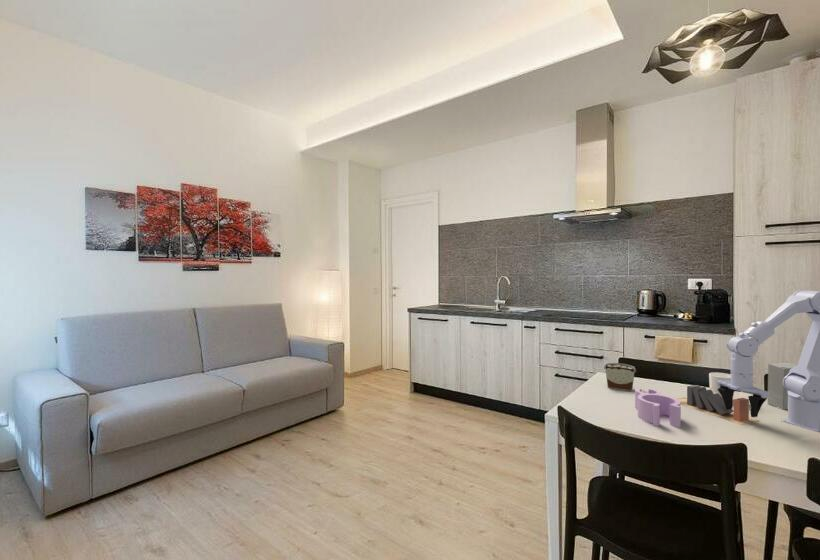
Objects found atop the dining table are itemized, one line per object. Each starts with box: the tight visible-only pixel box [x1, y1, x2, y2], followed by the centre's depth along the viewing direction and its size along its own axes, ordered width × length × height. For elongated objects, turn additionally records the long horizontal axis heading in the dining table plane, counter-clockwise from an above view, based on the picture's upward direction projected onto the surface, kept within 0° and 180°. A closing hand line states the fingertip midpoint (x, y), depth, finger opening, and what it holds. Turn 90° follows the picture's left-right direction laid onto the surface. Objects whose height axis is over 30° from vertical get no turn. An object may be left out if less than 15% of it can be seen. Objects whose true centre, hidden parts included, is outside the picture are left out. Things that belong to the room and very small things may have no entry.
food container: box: [603, 362, 637, 392], centre depth 171 cm, size 12×6×10 cm, turn 58°
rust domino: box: [733, 397, 750, 422], centre depth 133 cm, size 2×5×7 cm, turn 108°
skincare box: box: [767, 362, 798, 410], centre depth 145 cm, size 8×7×16 cm
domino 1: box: [686, 384, 702, 406], centre depth 148 cm, size 2×5×7 cm, turn 109°
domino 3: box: [698, 389, 716, 412], centre depth 143 cm, size 2×5×7 cm
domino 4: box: [706, 393, 734, 415], centre depth 139 cm, size 2×5×7 cm
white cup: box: [708, 372, 734, 397], centre depth 153 cm, size 8×8×10 cm
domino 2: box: [692, 386, 707, 408], centre depth 145 cm, size 2×5×7 cm, turn 108°
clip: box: [634, 387, 682, 429], centre depth 139 cm, size 20×12×7 cm, turn 169°
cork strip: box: [676, 397, 760, 426], centre depth 142 cm, size 26×9×1 cm, turn 19°
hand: (741, 412), depth 133 cm, fingers open, 7 cm apart
